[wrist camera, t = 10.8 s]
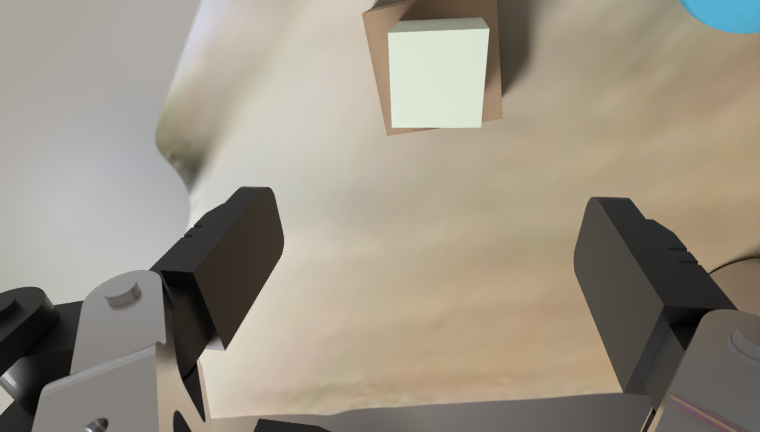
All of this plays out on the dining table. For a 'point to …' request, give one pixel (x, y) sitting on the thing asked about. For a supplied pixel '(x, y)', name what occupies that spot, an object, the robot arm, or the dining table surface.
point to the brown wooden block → (425, 5)
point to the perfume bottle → (726, 14)
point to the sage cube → (437, 72)
